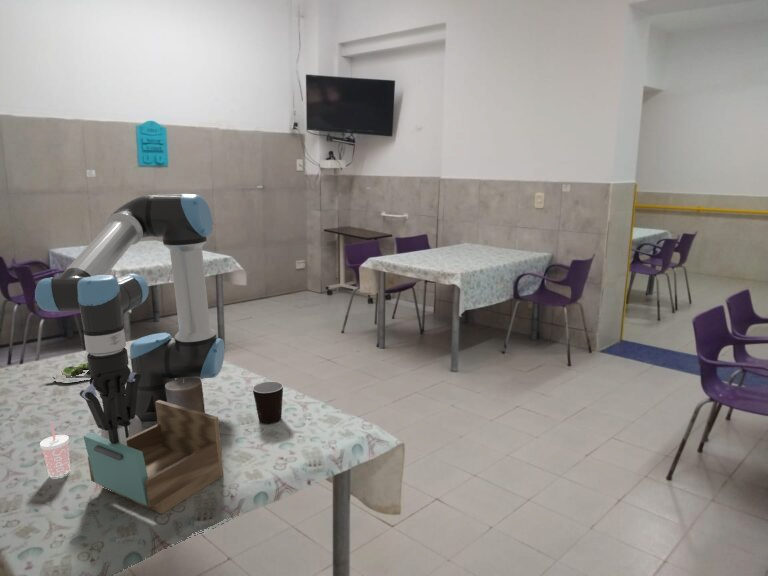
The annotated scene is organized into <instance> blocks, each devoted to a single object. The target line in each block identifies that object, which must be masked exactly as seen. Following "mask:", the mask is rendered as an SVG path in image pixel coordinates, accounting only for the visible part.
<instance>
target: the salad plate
mask: <svg viewBox="0 0 768 576" xmlns="http://www.w3.org/2000/svg"><path fill="white" fill-rule="evenodd" d="M77 366H78V367H75V366H72V365H71V366H66V367H64V368H63V369H64V370H62V371H61V372H62V375H65V376H66V378H91V373H90V371H88V372H87V373H86V374H85V375H84V376H76V375H79V374H82V373H85V372H83V370H89V366H88V362H84V363H81V364H79V365H77ZM71 376H72V377H71Z"/></svg>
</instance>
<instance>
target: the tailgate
mask: <svg viewBox="0 0 768 576" xmlns="http://www.w3.org/2000/svg"><path fill="white" fill-rule="evenodd" d="M82 438H83V439H84V444H85V448H86V452H87V458H88V457H89V461H90V465H91V469H92V473H93V477H94V481H95V482H94V483H95V484H97V485H100V486H101V487H102V486H104V487H106V488H108V489H110V490H113V491H115V492H117V493H119V494H122V495H124V496H126V497H129V498H131V499H133V500H135V501H138V502H140V503H142V504H144V505H148V502H147V494H146V486H145V479H147V478H148V475H147V470H146V466H145V461H144V457H143V452H142V451H139V450H137V449H134V448H131V447H128V446H126V445H123V444H120V443H116V444H114V443H111V442H110V440H109V439H107V438H104V437H101V435H99V434H95V433H94V432H93V433H92V432H88V433H86V434H84V435H83V437H82Z"/></svg>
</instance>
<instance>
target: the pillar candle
mask: <svg viewBox="0 0 768 576" xmlns="http://www.w3.org/2000/svg"><path fill="white" fill-rule="evenodd" d="M165 388H166V396H167V402H168V403H171V404H175V405H178V406H182V407H185V408H189V409H192V410H196V411H199V412H202V413H206V410H205V399H204V391H203V383H202V379H199V378H197V377H184V378H178V379H175V380H172V381H170V382H168V383H167V384H166V385H165Z"/></svg>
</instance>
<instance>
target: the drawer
mask: <svg viewBox="0 0 768 576" xmlns="http://www.w3.org/2000/svg"><path fill="white" fill-rule="evenodd" d="M155 404H156V413H157V420H156V421H157V424H155V425H152V426H150V427H149V428H146V429H144V430H142V432H139V433H137V434H135V435H133V436H131V437H129V438H127V439H126V442H127V446H128V447H131V448H134V449H137V450H139V451H142V452H143V457H144V461H145V466H146V470H147V475H148V478H147V479H145V486H146V494H147V502H148V505H144V504H142V503H140V502H138V501H135V500H133V499H131V498H129V497H126V496H124V495H122V494H119V493H117V492H115V491H113V490H111V491H113V492H115V493H117V494H119V495H118V496H120V495H121V496H120V497H122V496H123V498H124V497H125V499H127V498H128V499H127V500H129V501H131V500H132V501H131V502H133V501H134V502H133V503H136V504H138V505H140V506H142V507H145V508H147V509H150V510H152V511H153V512H156V513H158V514H159V515H160V514H161V515H163V514H164V513H166V512H167V511H170V510H171V509H172V508H174V507H175V506H177V505H180V503H182V502H184V501H186V500H187V499H188V498H190V497H191V496H193V495H195V494H197V493H198V492H199V491H201V490H202V489H204V488H206V487H207V486H209V485H211V484H212V483H214V482H215V481H217V480H218V479H220V478H221V477H223V476H224V468H223V467H224V466H223V465H224V464H223V456H222V444H221V435H220V421H219V416H216V415H212V414H209V413H206V412H205V413H202V412H199V411H196V410H192V409H189V408H185V407H182V406H178V405H175V404H171V403H168V402H165V401H161V400H158V401H156V402H155ZM87 461H88V462H87V463H88V467H89V473H90V474H89V476H90V481H91V482H93V483H95V481H94V477H93V473H92V469H91V465H90V461H89V457H88V456H87ZM101 487H104V486H101ZM104 488H106V487H104ZM104 488H103V489H104ZM107 489H108V488H107ZM109 490H110V489H109ZM111 491H110V492H111ZM113 492H112V493H113ZM115 493H114V494H115ZM117 494H116V495H117Z"/></svg>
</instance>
